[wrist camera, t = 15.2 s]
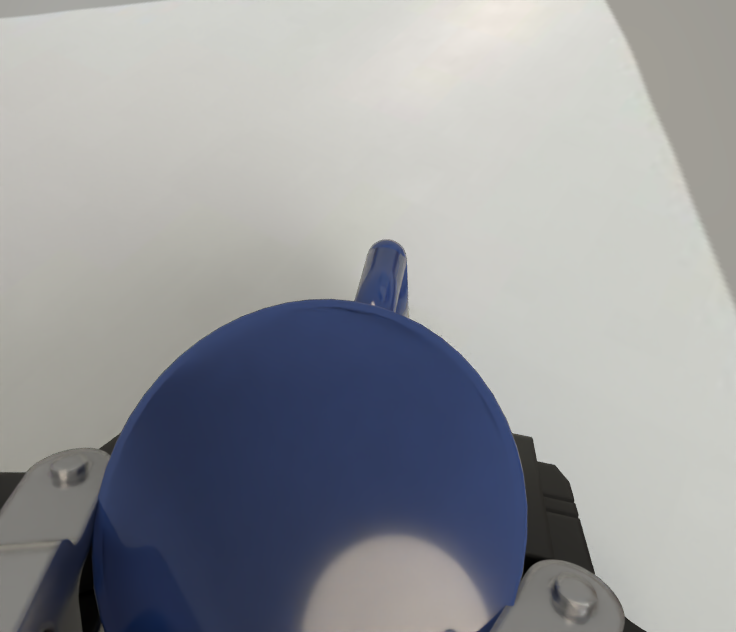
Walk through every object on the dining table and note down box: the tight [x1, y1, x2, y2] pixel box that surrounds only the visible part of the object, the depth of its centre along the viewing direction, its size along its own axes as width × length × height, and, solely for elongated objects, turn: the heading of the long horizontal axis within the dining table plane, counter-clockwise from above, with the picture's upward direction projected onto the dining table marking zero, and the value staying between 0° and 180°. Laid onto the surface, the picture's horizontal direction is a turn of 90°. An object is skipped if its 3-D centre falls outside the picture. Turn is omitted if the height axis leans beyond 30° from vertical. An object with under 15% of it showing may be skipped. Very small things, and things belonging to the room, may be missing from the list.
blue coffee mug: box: [91, 239, 528, 632], centre depth 11 cm, size 9×6×8 cm
